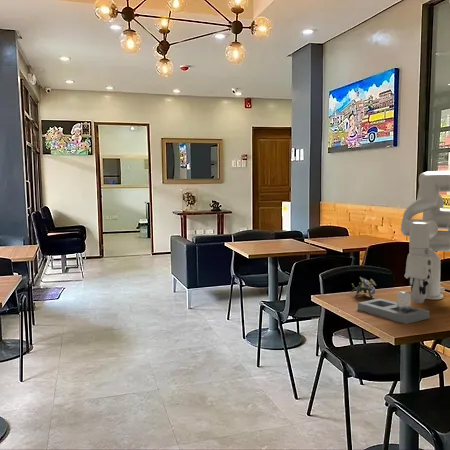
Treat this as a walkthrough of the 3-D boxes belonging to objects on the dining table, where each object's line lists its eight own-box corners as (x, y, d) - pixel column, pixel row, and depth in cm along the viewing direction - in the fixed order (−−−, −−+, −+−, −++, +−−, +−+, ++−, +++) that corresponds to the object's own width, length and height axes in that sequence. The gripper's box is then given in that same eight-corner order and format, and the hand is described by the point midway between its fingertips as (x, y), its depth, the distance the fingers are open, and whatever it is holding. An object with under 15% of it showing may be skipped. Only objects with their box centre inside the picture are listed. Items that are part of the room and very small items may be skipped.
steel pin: (402, 314, 181) (402, 290, 180) (413, 317, 176) (413, 292, 175) (394, 316, 178) (394, 292, 177) (404, 319, 174) (405, 294, 173)
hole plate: (380, 305, 196) (380, 298, 195) (429, 318, 175) (429, 310, 175) (357, 309, 189) (357, 302, 188) (406, 324, 168) (406, 316, 168)
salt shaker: (427, 301, 186) (428, 271, 185) (423, 304, 182) (423, 273, 180) (413, 299, 190) (413, 269, 189) (408, 302, 186) (409, 271, 184)
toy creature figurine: (371, 309, 209) (378, 292, 201) (348, 303, 211) (353, 287, 203) (372, 291, 217) (378, 275, 209) (350, 286, 219) (355, 270, 212)
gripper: (442, 253, 178) (441, 297, 180) (407, 248, 192) (407, 289, 194) (431, 255, 175) (430, 300, 177) (396, 250, 189) (395, 292, 191)
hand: (418, 294), depth 186 cm, fingers closed on salt shaker, 3 cm apart
